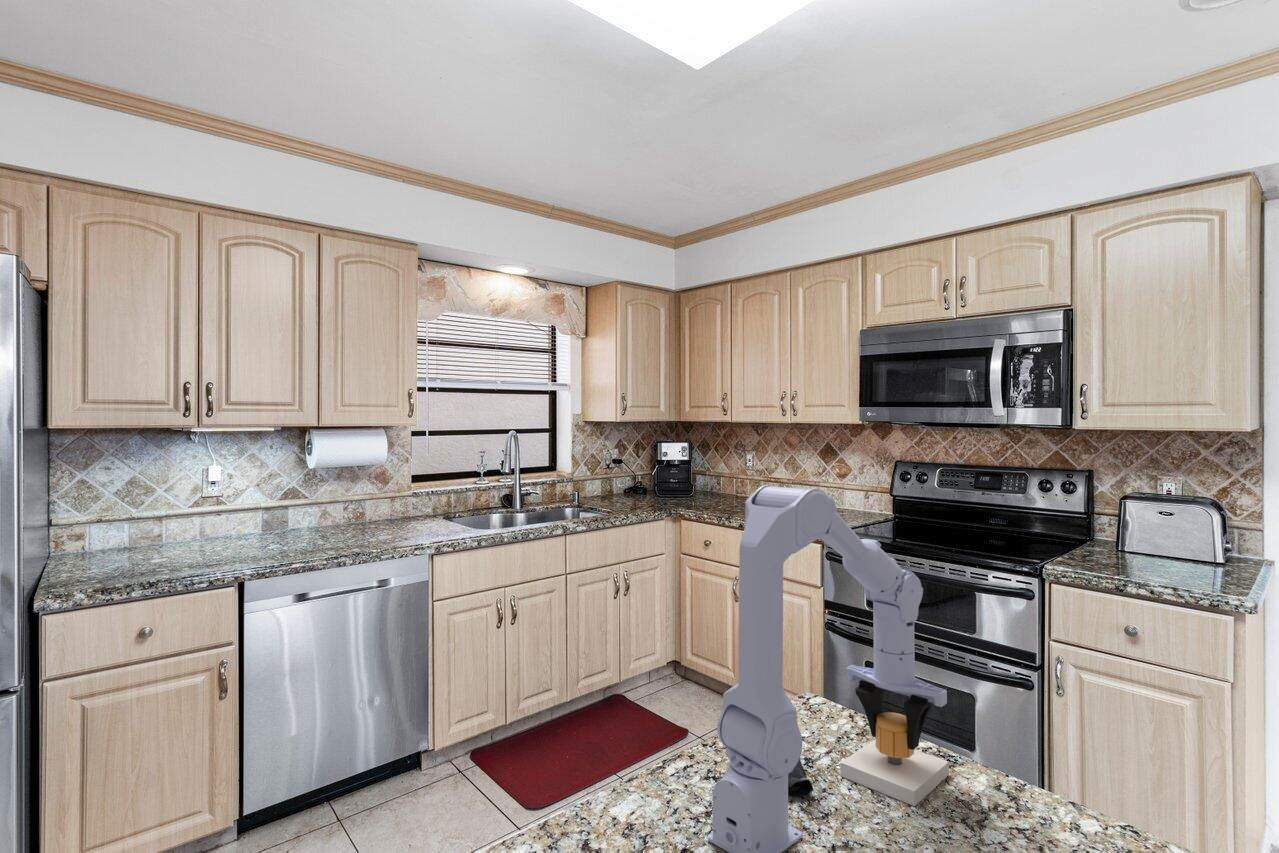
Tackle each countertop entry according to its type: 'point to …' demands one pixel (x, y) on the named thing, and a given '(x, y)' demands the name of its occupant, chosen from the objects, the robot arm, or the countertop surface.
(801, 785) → the electronic device
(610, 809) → the countertop surface
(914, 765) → the white base plate
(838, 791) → the countertop surface
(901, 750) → the orange acorn nut
